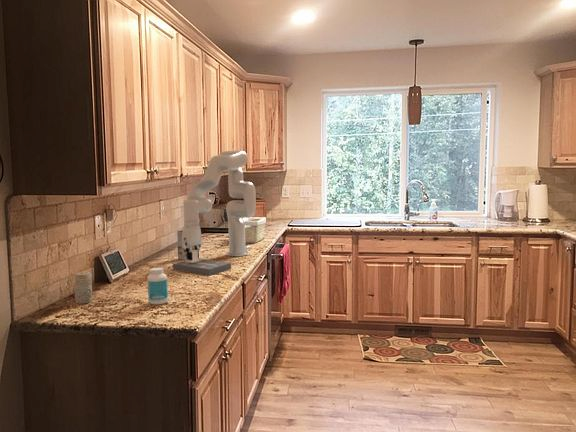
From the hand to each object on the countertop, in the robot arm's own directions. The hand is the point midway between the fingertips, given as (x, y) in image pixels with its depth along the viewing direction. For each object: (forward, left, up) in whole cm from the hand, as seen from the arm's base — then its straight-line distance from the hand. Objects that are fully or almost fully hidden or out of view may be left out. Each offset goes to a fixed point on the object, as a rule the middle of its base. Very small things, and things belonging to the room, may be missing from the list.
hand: (193, 258), depth 250 cm
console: (0, +6, -5) cm, 8 cm away
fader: (0, 0, -1) cm, 1 cm away
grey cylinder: (+66, +5, -5) cm, 66 cm away
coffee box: (-16, -20, -5) cm, 26 cm away
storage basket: (-81, -25, -5) cm, 85 cm away
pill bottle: (+51, +31, -5) cm, 60 cm away
